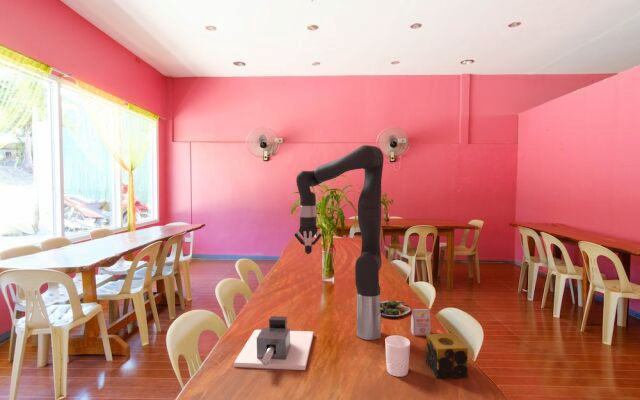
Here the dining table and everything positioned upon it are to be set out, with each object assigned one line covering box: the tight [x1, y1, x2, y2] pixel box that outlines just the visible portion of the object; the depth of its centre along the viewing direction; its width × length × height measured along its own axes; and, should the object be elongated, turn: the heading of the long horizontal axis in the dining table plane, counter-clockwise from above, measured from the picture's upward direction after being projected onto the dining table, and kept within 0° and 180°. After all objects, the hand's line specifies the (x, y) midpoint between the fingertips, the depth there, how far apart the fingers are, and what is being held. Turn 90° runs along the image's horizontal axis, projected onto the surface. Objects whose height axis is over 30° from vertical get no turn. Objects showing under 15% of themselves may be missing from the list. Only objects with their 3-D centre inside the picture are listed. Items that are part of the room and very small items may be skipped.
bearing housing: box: [257, 327, 291, 360], centre depth 115 cm, size 10×8×7 cm
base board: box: [233, 329, 314, 371], centre depth 120 cm, size 24×24×2 cm
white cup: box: [384, 334, 411, 378], centre depth 106 cm, size 8×8×10 cm
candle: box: [425, 332, 469, 380], centre depth 106 cm, size 10×10×10 cm
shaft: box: [262, 315, 288, 365], centre depth 113 cm, size 6×20×9 cm, turn 175°
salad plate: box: [380, 300, 412, 320], centre depth 156 cm, size 19×18×5 cm
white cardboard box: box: [410, 308, 432, 337], centre depth 131 cm, size 4×7×10 cm, turn 90°
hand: (308, 253), depth 147 cm, fingers closed
